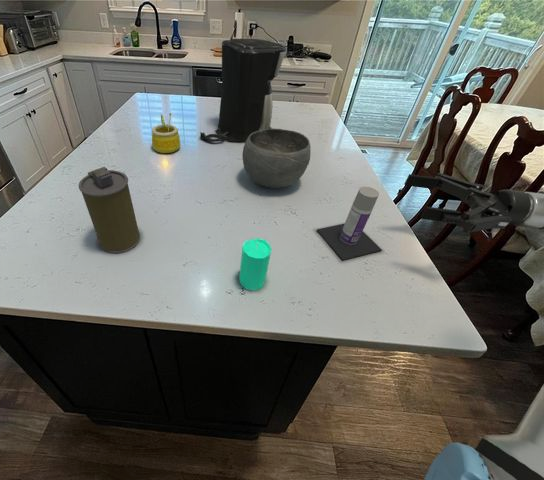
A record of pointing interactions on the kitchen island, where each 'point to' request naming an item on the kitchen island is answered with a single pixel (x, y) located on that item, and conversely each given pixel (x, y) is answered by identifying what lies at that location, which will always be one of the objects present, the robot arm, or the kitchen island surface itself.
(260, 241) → the candle
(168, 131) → the mug
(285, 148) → the bowl
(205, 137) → the coffee maker
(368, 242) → the mat
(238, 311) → the kitchen island surface
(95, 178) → the canister
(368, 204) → the container
